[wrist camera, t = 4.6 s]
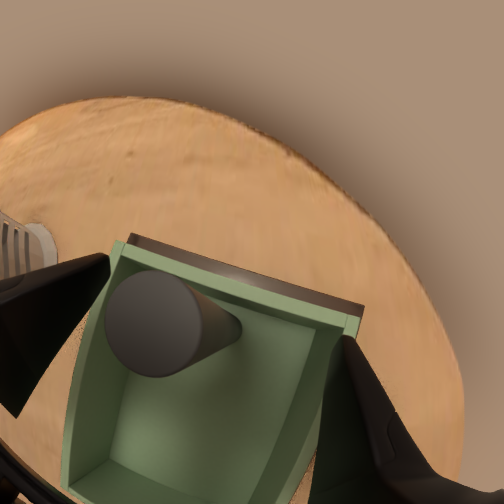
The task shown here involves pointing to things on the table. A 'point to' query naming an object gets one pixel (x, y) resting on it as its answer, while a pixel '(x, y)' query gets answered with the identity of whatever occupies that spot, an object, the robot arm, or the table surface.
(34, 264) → the french press
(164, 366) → the container
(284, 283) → the brown wooden tray
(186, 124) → the table surface
